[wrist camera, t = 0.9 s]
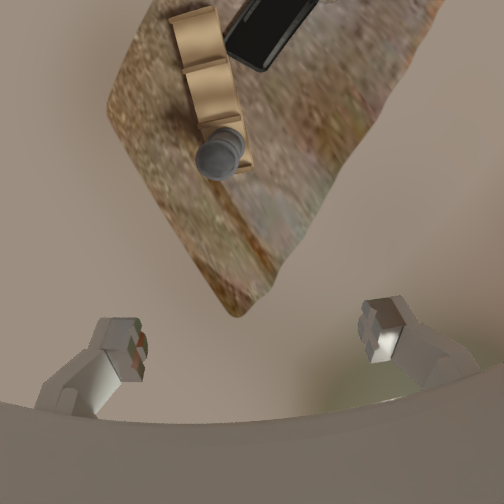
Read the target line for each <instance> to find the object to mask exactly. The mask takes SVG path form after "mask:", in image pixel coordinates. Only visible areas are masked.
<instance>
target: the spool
mask: <svg viewBox="0 0 504 504" xmlns="http://www.w3.org/2000/svg"><path fill="white" fill-rule="evenodd" d="M244 151H245V141H244V138H243V137H242V135H241V134H240V133H239V132H238V131H236V130H234V129H232V128H227V127H224V128H219V129H217V130H215V131H214V132H213V133H212V134H211V135H210V136H209V138H208V140H207V141H206V142H205V143H204V144H202V145H201V147H200V148H199V149H198V151H197V154H196V165H197V168H198V170H199V171H200V172H201V174H203V175H204V176H205V177H207V178H208V179H211V180H215V181H222V180H226V179H228V178H230V177H231V176H232V175H234V173H235V172H236V170H237V168H238V166H239V159H240V158H241V157H242V156H243V154H244Z"/></svg>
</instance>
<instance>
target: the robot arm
mask: <svg viewBox="0 0 504 504" xmlns="http://www.w3.org/2000/svg"><path fill="white" fill-rule="evenodd" d="M362 311H363V314H362V316H360V318H359V322H358V333H359V337H360V339H361V342H363V343H364V344H366V348H365V352H366V354H367V356H368V359H369V361H370V363H376V362H381V361H388V360H391V362H392V363H393V364H395V365H396V366H397V367H398V368H399V369H401V370H402V371H403V372H404V373H405V374H406V375H408V376H409V377H410V378H411V379H413V380H414V381H415V382H416V383H417V384H418V385H420V386H421V387H422V389H421V390H420V392H417V393H413V394H410V395H406V396H402V397H398V398H394V399H391V400H386V401H382V402H378V403H373V404H368V405H364V406H359V407H354V408H349V409H344V410H338V411H333V412H327V413H321V414H314V415H307V416H300V417H292V418H284V419H274V420H263V421H251V422H235V423H212V424H164V423H161V424H160V423H140V422H125V421H113V420H103V419H98V418H97V416H96V415H95V414H96V413H97V412H98V411H99V409H100V408H101V407H102V406H103V405H104V403H105V402H106V401H107V400H108V399H109V397H110V396H111V395H112V394H113V392H114V391H115V390H116V389H117V388H118V386H119V385H120V384H121V382H142V381H143V376H144V371H145V367H144V364H143V361H145V360H146V359H147V355H148V343H147V338H146V335H145V334H144V333H143V332H142V331H141V328H142V324H141V321H140V319H139V318H100V319H99V320H98V322H97V325H96V328H95V330H94V333H93V336H92V338H91V341H90V343H89V346H88V349H84V350H82V351H81V352H80V353H79V354H78V355H76V356H75V357H74V358H73V359H72V360H70V361H69V362H68V363H67V364H66V365H65V366H63V367H62V368H61V369H60V370H59V371H57V372H56V373H55V374H54V375H53V376H52V377H50V378H49V379H48V380H47V381H46V382H44V383H43V385H42V388H41V390H40V393H39V396H38V399H37V402H36V404H35V407H34V409H32V408H27V407H22V406H18V405H13V404H9V403H5V402H1V401H0V504H504V362H503V363H500V364H498V365H496V366H493V367H491V368H488V369H486V370H483V371H481V370H480V368H479V366H478V365H477V363H476V361H475V360H474V358H473V357H472V355H471V353H470V352H469V350H468V349H467V348H465V347H463V346H461V345H460V344H458V343H456V342H455V341H453V340H451V339H450V338H448V337H446V336H444V335H443V334H441V333H439V332H437V331H436V330H434V329H432V328H431V327H429V326H427V325H426V324H424V323H419V322H418V320H417V319H416V317H415V316H414V314H413V312H412V311H411V309H410V308H409V306H408V305H407V303H406V301H405V300H404V298H403V297H402V296H400V295H399V296H392V297H387V298H380V299H372V300H365V301H364V302H363V305H362Z"/></svg>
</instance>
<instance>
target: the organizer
mask: <svg viewBox="0 0 504 504" xmlns="http://www.w3.org/2000/svg"><path fill="white" fill-rule="evenodd" d="M169 23H171V24H173V28H174V32H175V36H176V39H177V43H178V47H179V51H180V55H181V58H182V62H183V66H184V69H182V72H183V75H184V74H186V77H187V81H188V85H189V88H190V92H191V96H192V100H193V103H194V107H195V111H196V114H197V118H198V122H199V124H197V127H198V130H200V129H201V132H202V136H203V140H204V143H205V142H206V141H207V140H208V138H209V136H210V135H211V134H212V133H213V132H214V131H215V130H217V129H219V128H224V127H227V128H232V129H234V130H236V131H238V132H239V133H240V134H241V135H242V137H243V138H244V141H245V151H244V154H243V156H242V157H241V158H240V159H239V166H238V168H237V170H236V172H235V173H234V174H238V173H244V172H250V171H252V170H253V166H254V163H253V159H252V155H251V150H250V146H249V142H248V137H247V133H246V129H245V124H244V120H243V116H242V111H241V107H240V103H239V99H238V95H237V90H236V86H235V82H234V78H233V74H232V70H231V65H230V61H229V57H228V55H227V53H226V48H225V44H224V41H223V40H224V37H223V33H222V29H221V25H220V21H219V17H218V13H217V9H216V7H214V6H212V5H211V6H208V7H204V8H200V9H197V10H194V11H190V12H187V13H184V14H181V15H177V16H174V17H171V18H169Z"/></svg>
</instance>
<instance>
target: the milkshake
mask: <svg viewBox="0 0 504 504" xmlns="http://www.w3.org/2000/svg"><path fill="white" fill-rule="evenodd" d="M318 1H319V2H322V3H324V4H329V3H333V2H335V1H337V0H318Z"/></svg>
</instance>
